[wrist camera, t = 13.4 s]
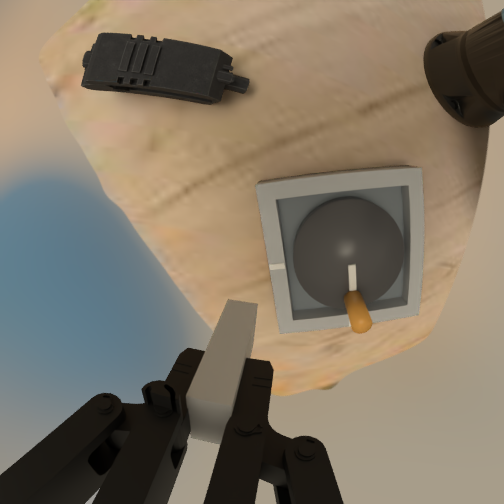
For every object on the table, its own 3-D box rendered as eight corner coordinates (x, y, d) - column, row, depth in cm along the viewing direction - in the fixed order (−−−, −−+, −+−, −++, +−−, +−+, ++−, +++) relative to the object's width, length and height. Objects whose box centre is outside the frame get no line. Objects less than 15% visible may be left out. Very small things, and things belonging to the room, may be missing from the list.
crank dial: (285, 204, 34) (283, 220, 26) (395, 191, 31) (423, 203, 23) (299, 305, 38) (300, 343, 30) (397, 292, 36) (417, 325, 28)
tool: (106, 58, 29) (83, 27, 16) (230, 77, 37) (266, 57, 24) (96, 96, 31) (66, 82, 19) (220, 113, 39) (252, 109, 26)
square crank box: (407, 165, 32) (422, 167, 28) (408, 299, 38) (419, 315, 34) (259, 181, 36) (254, 185, 31) (281, 316, 42) (279, 334, 38)
